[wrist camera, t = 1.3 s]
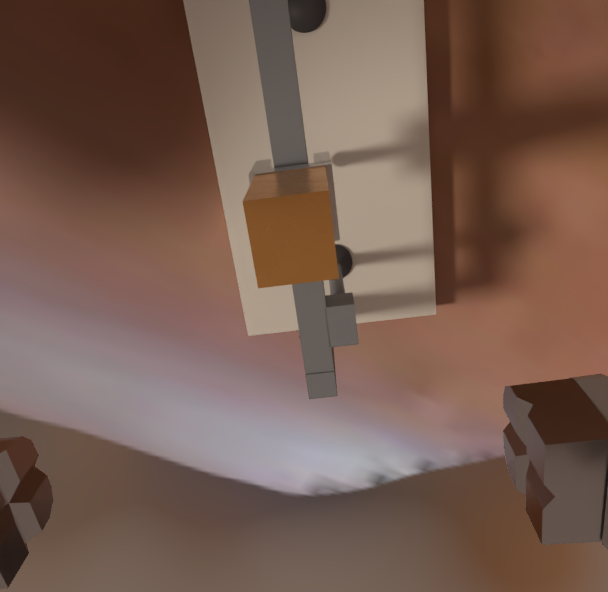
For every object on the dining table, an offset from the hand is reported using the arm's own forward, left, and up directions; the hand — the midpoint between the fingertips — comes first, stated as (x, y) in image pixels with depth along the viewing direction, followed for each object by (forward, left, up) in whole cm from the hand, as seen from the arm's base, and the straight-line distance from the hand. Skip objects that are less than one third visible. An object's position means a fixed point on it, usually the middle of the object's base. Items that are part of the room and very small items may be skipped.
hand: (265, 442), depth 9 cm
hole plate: (+2, +2, -30) cm, 30 cm away
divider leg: (0, 0, -28) cm, 28 cm away
